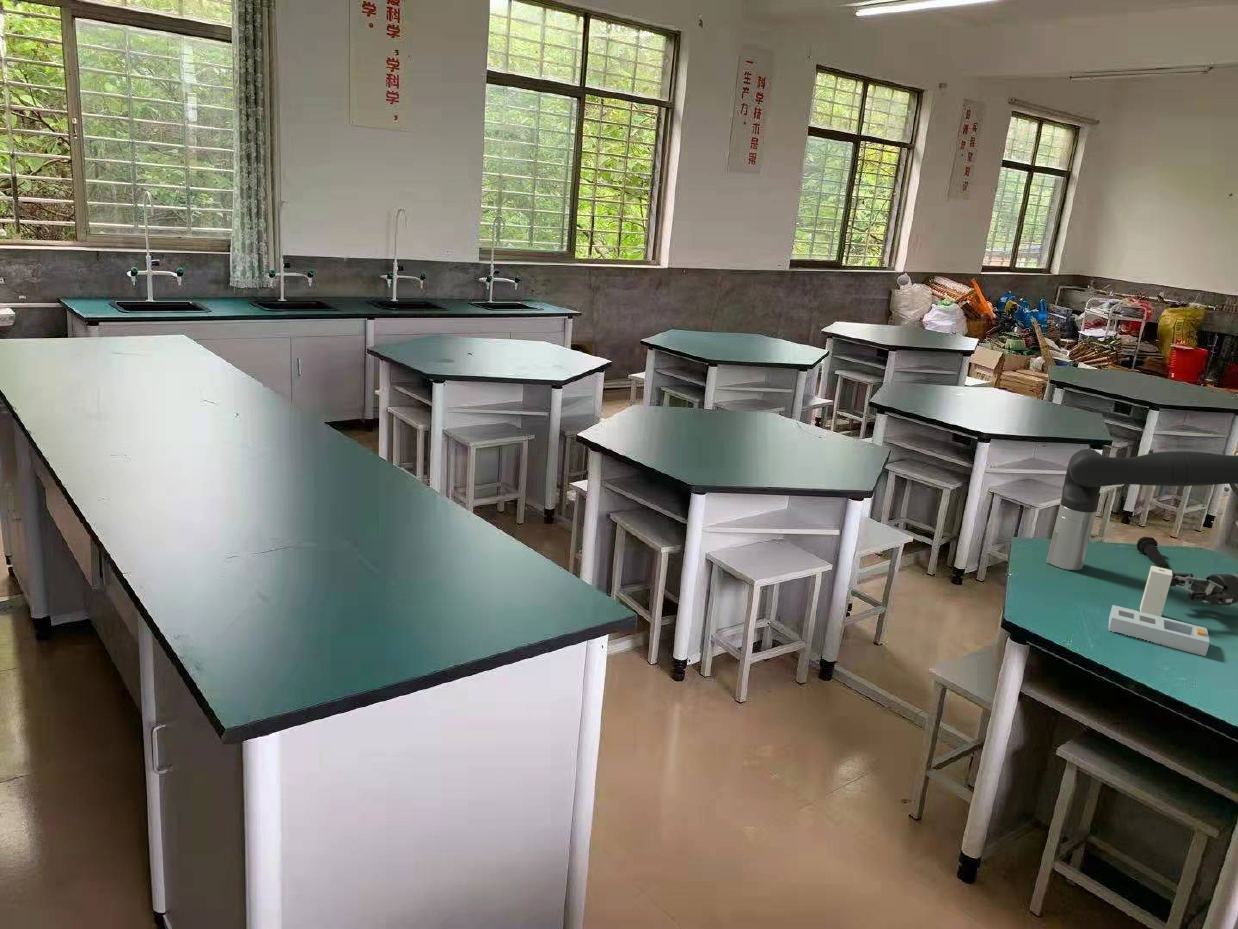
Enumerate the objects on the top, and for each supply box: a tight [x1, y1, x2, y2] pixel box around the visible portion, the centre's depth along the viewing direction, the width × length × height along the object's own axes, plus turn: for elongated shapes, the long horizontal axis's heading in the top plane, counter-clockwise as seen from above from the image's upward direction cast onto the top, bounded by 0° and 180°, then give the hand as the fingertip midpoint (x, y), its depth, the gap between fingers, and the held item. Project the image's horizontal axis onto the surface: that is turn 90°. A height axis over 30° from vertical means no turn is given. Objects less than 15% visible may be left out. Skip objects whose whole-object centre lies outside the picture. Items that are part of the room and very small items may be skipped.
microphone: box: [1136, 536, 1170, 570], centre depth 267 cm, size 6×6×20 cm
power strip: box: [1108, 604, 1211, 657], centre depth 216 cm, size 20×9×4 cm, turn 61°
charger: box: [1139, 565, 1173, 617], centre depth 227 cm, size 4×4×12 cm
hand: (1176, 588), depth 228 cm, fingers open, 8 cm apart
